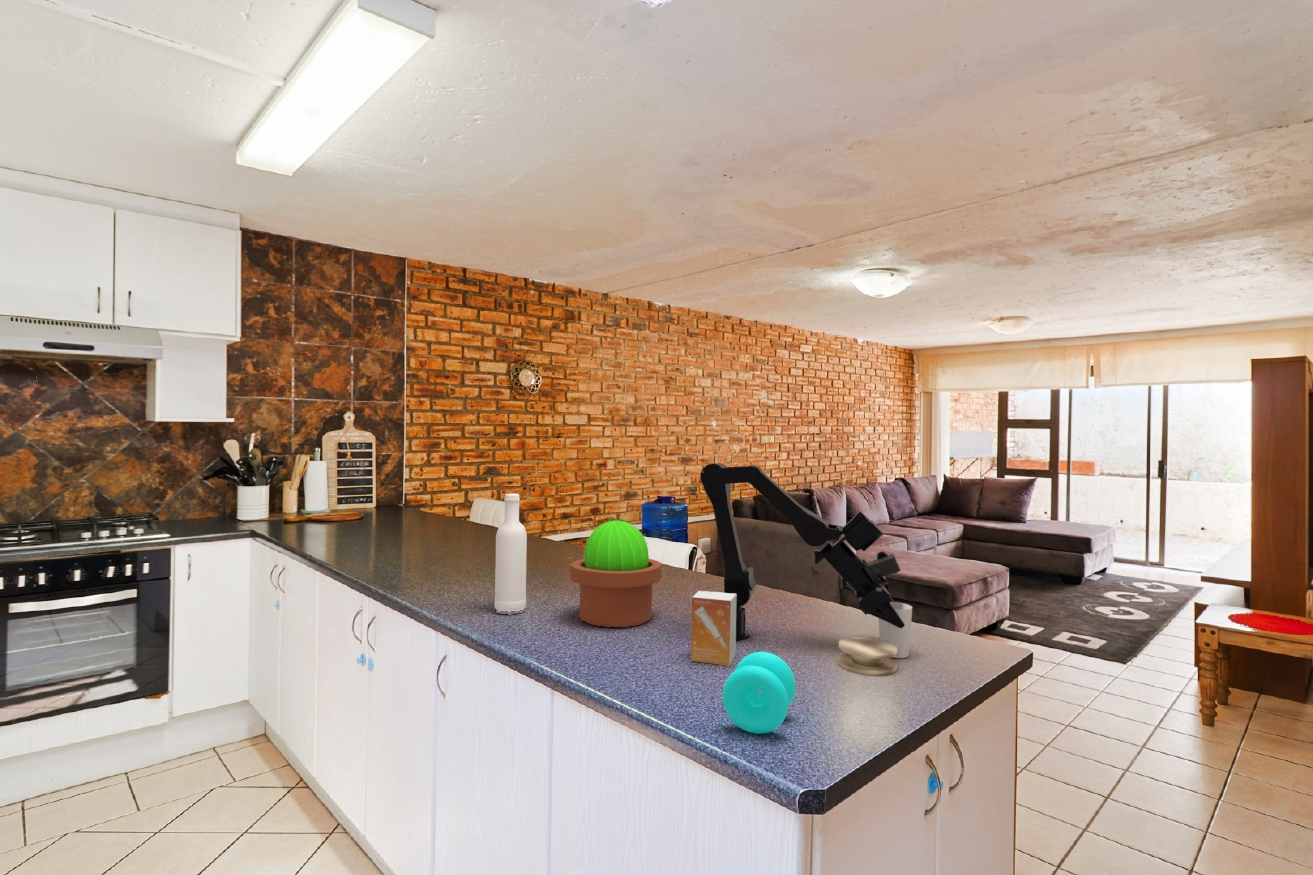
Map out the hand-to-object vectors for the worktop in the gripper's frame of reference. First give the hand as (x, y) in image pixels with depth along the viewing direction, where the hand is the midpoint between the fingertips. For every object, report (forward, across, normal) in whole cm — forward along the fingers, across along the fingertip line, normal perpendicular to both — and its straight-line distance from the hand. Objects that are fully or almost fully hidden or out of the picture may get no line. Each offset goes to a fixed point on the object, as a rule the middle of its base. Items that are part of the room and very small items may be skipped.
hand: (902, 622), depth 134 cm
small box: (-21, -16, +31) cm, 41 cm away
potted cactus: (-41, +5, +52) cm, 66 cm away
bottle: (-61, +2, +72) cm, 94 cm away
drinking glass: (+4, 0, +6) cm, 7 cm away
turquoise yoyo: (-11, -43, +22) cm, 49 cm away
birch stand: (0, -9, +10) cm, 13 cm away
